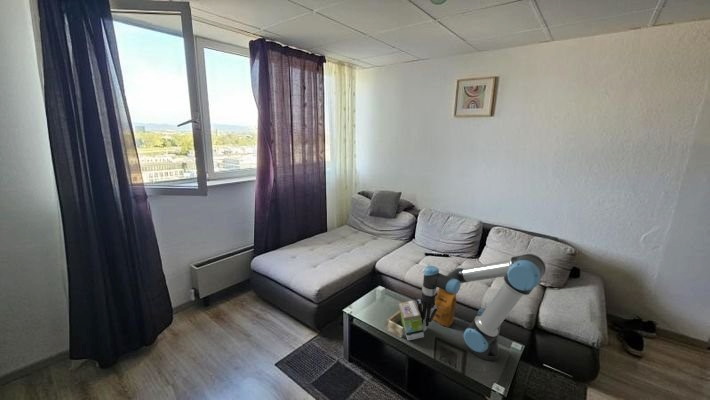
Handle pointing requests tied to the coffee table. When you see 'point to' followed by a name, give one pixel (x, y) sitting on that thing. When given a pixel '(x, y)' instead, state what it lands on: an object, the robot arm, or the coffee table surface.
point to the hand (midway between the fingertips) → (424, 329)
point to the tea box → (411, 320)
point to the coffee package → (445, 307)
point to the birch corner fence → (394, 324)
